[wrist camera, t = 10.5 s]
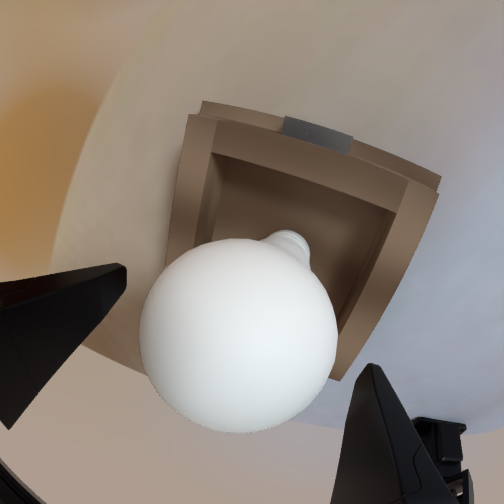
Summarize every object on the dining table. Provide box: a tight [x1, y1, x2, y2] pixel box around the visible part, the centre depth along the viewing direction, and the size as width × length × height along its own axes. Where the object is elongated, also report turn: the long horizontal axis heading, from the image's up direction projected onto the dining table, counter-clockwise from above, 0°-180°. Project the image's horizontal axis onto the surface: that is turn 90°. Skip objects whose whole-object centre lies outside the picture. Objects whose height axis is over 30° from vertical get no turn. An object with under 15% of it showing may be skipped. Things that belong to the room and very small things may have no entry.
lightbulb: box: [139, 230, 338, 433], centre depth 11 cm, size 6×6×11 cm
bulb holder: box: [165, 101, 442, 381], centre depth 15 cm, size 13×13×4 cm
